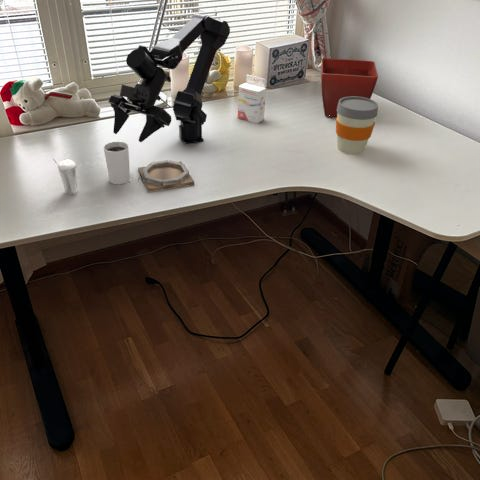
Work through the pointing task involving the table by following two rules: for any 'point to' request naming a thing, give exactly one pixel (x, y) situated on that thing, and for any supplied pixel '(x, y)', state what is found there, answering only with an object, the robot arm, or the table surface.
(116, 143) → the white cup
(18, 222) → the table surface
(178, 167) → the ring board
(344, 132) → the reusable coffee cup
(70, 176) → the milkshake
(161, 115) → the robot arm
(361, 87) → the plant pot
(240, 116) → the ink cartridge box
